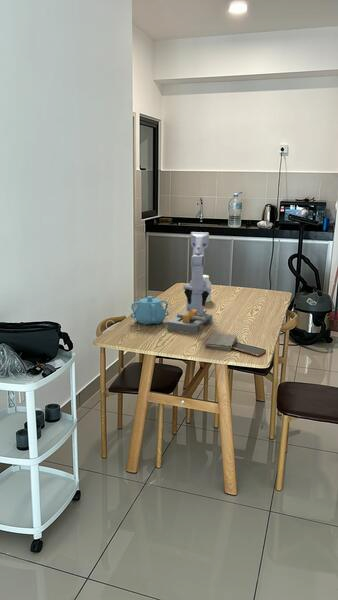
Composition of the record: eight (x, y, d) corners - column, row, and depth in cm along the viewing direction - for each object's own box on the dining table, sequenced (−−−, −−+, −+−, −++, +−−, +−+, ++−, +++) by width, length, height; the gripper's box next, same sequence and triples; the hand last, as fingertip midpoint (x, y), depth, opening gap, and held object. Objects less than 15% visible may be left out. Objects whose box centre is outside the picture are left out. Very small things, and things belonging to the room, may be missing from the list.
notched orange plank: (188, 325, 234) (188, 316, 233) (182, 324, 235) (182, 315, 234) (197, 318, 244) (197, 309, 243) (192, 317, 246) (192, 309, 244)
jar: (190, 300, 288) (190, 276, 285) (194, 297, 297) (195, 273, 293) (208, 302, 285) (209, 278, 281) (212, 299, 294) (213, 275, 290)
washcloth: (204, 349, 209) (204, 342, 208) (211, 336, 226) (212, 330, 225) (231, 352, 206) (231, 345, 205) (236, 339, 223) (237, 333, 222)
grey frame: (167, 329, 234) (167, 318, 233) (185, 318, 253) (185, 308, 252) (195, 334, 228) (195, 323, 226) (211, 322, 247) (212, 311, 245)
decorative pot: (134, 329, 234) (134, 302, 231) (127, 317, 252) (127, 293, 249) (173, 326, 239) (174, 300, 236) (163, 315, 257) (163, 291, 254)
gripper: (180, 278, 239) (180, 304, 243) (207, 281, 233) (206, 308, 236) (186, 276, 245) (186, 301, 249) (212, 279, 239) (212, 305, 242)
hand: (196, 304), depth 243 cm, fingers open, 7 cm apart
